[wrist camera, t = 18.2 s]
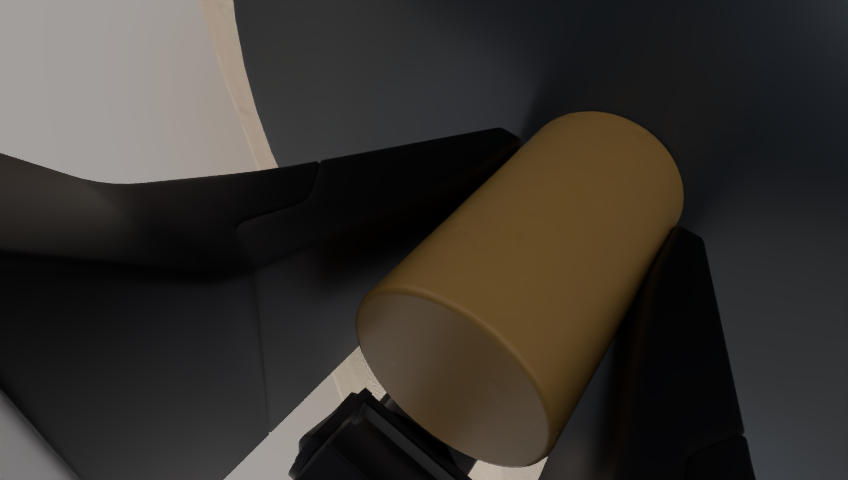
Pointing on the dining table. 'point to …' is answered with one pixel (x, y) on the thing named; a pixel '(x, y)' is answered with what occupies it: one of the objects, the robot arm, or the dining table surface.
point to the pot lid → (588, 197)
